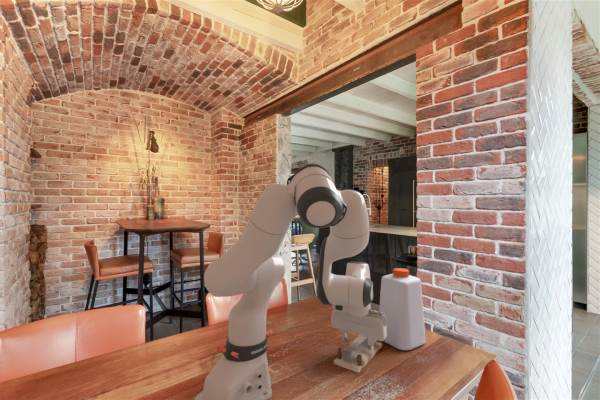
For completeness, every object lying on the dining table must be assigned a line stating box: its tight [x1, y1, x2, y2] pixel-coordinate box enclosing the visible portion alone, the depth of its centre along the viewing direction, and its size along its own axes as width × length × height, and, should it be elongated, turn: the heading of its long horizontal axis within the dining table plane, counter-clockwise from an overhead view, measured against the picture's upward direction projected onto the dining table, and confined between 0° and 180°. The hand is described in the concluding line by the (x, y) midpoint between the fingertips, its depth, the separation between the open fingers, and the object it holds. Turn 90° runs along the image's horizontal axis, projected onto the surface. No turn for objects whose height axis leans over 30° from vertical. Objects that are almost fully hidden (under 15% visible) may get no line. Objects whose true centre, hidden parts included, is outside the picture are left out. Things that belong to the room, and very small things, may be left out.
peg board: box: [333, 341, 383, 374], centre depth 103 cm, size 21×9×4 cm, turn 144°
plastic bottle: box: [378, 267, 426, 351], centre depth 114 cm, size 15×15×28 cm
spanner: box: [342, 334, 377, 365], centre depth 104 cm, size 20×6×4 cm, turn 144°
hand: (358, 345), depth 103 cm, fingers open, 8 cm apart
